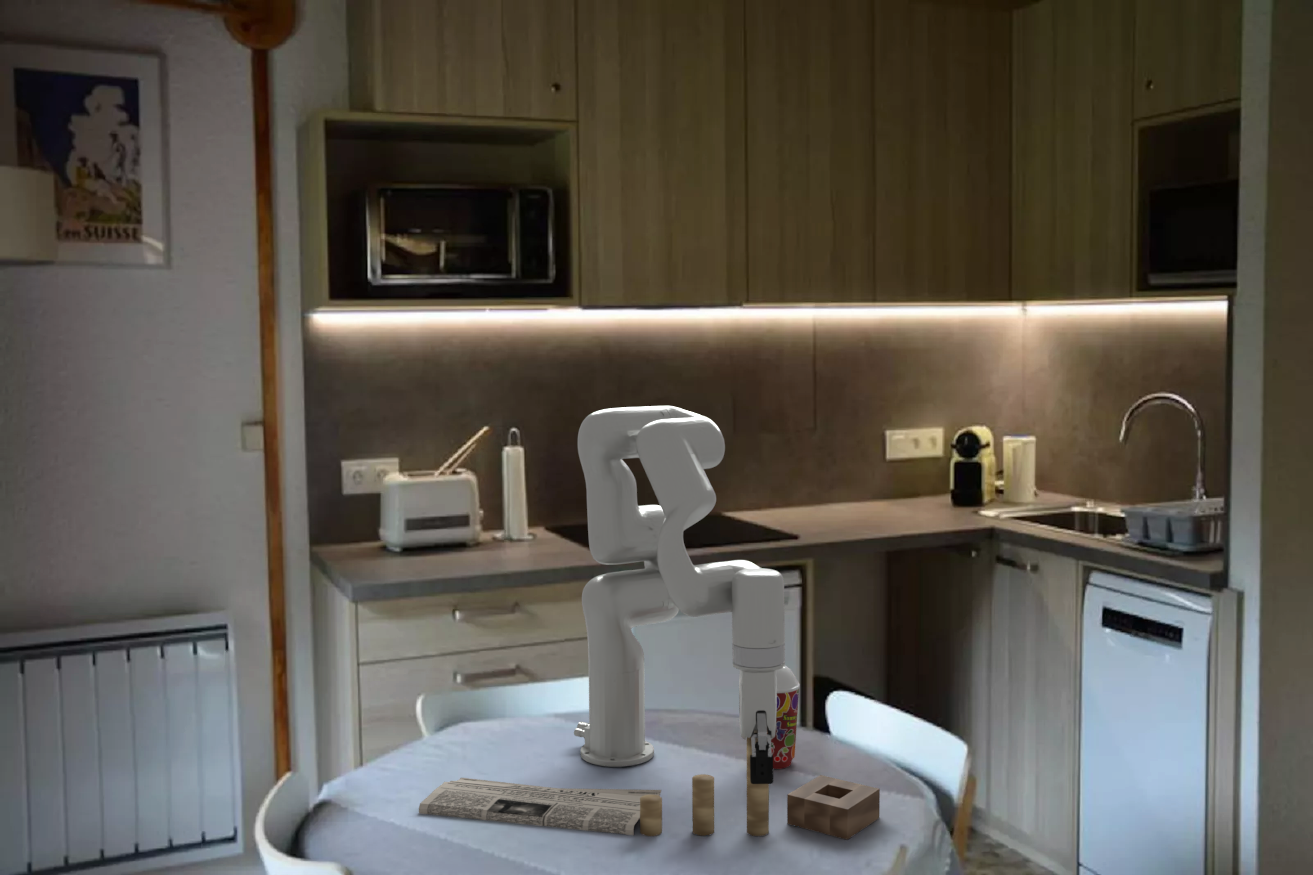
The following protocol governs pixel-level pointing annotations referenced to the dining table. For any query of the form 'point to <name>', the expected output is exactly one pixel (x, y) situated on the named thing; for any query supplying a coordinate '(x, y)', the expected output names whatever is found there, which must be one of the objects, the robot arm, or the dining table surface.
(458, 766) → the dining table surface
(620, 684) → the robot arm
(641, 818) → the short dowel
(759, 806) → the long dowel
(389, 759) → the dining table surface
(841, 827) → the collar
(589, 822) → the newspaper
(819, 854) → the dining table surface
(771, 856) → the dining table surface
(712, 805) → the medium dowel
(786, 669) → the smoothie
